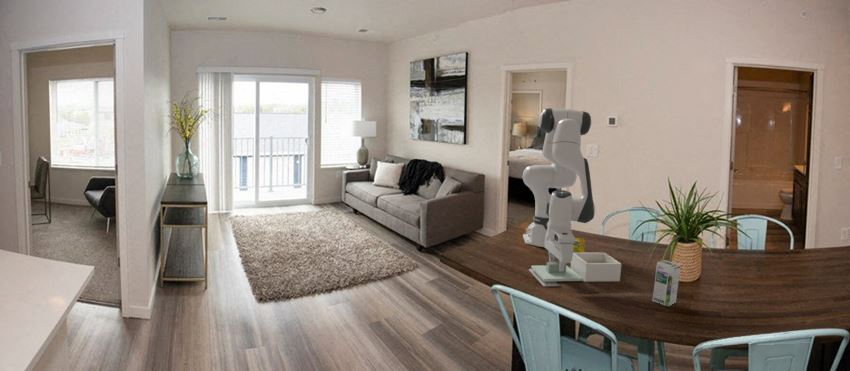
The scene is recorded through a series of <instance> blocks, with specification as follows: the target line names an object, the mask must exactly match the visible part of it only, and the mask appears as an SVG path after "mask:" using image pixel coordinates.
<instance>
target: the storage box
mask: <svg viewBox="0 0 850 371" xmlns="http://www.w3.org/2000/svg"><path fill="white" fill-rule="evenodd" d="M596 261H601V262H602V263H589V262H596ZM569 268H570V269H572V270H573V271H574V272H575V273H576V274H578V275H579V276H580V277H581V278H582V281H584V282H586V283H587V282H620V281H621V271H622V263H621V262H619V261H618V260H616V259H615V258H614V257H612V256H610V255H609V254H608V253H606V252H605V251H604V252H584V253H573V257H572V261H571V264H570V267H569Z"/></svg>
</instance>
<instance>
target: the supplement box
mask: <svg viewBox="0 0 850 371" xmlns="http://www.w3.org/2000/svg"><path fill="white" fill-rule="evenodd" d="M573 247H574V248H573V253H585V249H586V248H585V247H586V241H585V239H584V238H583V237H582V238H581V237H575V243H573ZM569 264H570V265H571V262H570V263H569Z"/></svg>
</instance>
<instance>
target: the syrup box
mask: <svg viewBox="0 0 850 371" xmlns="http://www.w3.org/2000/svg"><path fill="white" fill-rule="evenodd" d="M681 266H682V265H681V264H680V263H677V262H672V261H669V260H665V259H663V260H660V261H657V262H656V266H655V267H656V268H655V277H654V286H653V293H652V299H651V300H652V302H654V303H657V304H659V303H660V304H659V305H662V306H665V307H667V306H668V307H670V306H673V305H674V303H675V304H676V303H677V295H678V288H679V281H680V274H681V273H680V272H681ZM672 304H673V305H672Z"/></svg>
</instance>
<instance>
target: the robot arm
mask: <svg viewBox="0 0 850 371" xmlns="http://www.w3.org/2000/svg"><path fill="white" fill-rule="evenodd" d="M537 121H538V127H539V130H541V131H542V132H544V133H545V136H544V142H543V146H542V155H543V157H544V158H545V159H546V160H548V161H549V162H551V164H533V165H529V166H526V167H525V168H524V170H523V173H522V180H523V183H524V185H526V187H528V188H529V190H530V191H531V192H532V194H533V195H534V196H533V197H534V200H535V202H534V203H535V206H534V208H535V209H534V211H535V212H534V214H533V218H532V221H533V222H531V223H529V225H528V226H527V228H525V233H524V234H523V235H522V238H523V240H524V243H525V244H526V245H531V246H535V247H538V248H539V247H540V248H545V249H546V250H547V251H548V258H549V260H548V262H556V259H558V262H560V264H559V266H558V270H559V271H564V266H565V264H570V262H571V261H572V257H573V248H574V247H573V243H575V238H576V237H575V235H574V233H573V231H572V222H577V223H581V224H588V223H589V222H591V221H592V220H594V218H595V215H596V205H595V202H594V198H593V189H592V180H591V173H590V167H589V166H590V165H589V162H588V159H587V158H585V157H584V156H583V154H582V151H581V143H582V142H581V141H582V139H581V136H585V135H587V133H589V131H590V129H591V126H592V116H591V115H590V113H589V112H587V111H584V110H581V111H580V110H576V109H570V108H551V107H550V108H543V109H542V110H541V112H540V114H539V117H538V120H537ZM577 176H578V178H579V181H580V189H581V196H577V197H576V196H573V194H572V192H570V191H567V190H561V189H564V188H571V187H573V186H574V184H575V183H576V182H577ZM549 189H557V190H554V191H552V192H551V193H550V192H549Z"/></svg>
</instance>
